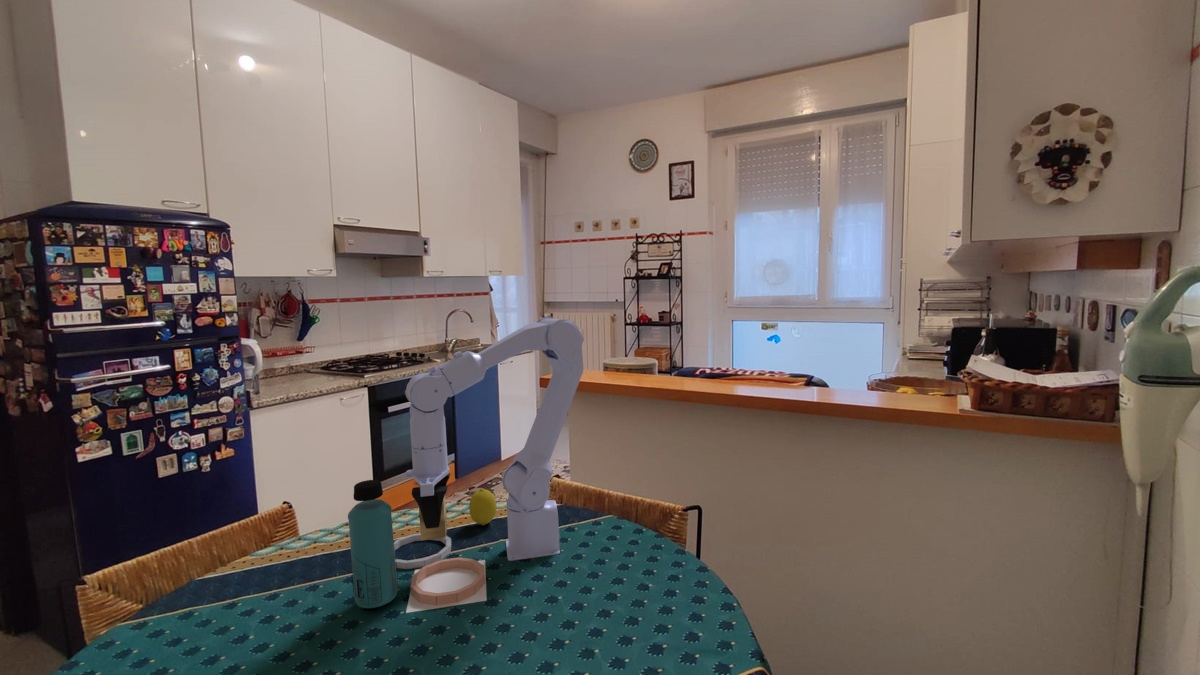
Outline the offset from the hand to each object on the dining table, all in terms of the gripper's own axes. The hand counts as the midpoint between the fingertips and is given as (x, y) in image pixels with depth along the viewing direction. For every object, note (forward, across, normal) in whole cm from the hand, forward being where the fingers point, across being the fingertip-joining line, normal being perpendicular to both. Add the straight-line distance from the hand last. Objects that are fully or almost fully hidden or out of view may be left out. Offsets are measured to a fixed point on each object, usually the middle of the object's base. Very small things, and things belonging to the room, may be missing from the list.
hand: (433, 521), depth 93 cm
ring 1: (+9, -8, -4) cm, 13 cm away
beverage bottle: (+10, +8, -8) cm, 15 cm away
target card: (+9, +5, +2) cm, 11 cm away
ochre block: (+2, 0, 0) cm, 2 cm away
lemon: (+10, -17, +8) cm, 21 cm away
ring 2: (+9, +5, +2) cm, 11 cm away
